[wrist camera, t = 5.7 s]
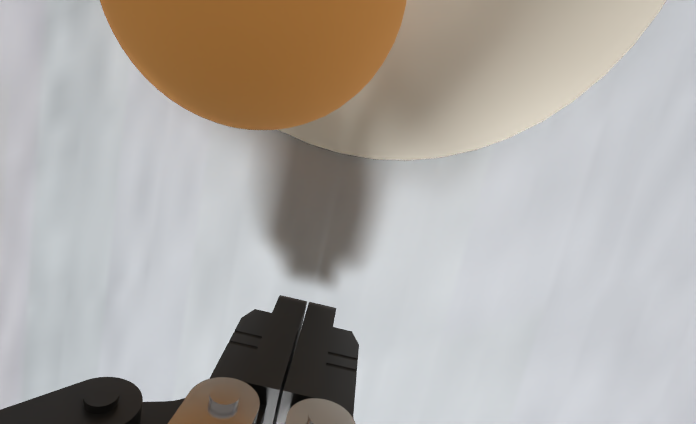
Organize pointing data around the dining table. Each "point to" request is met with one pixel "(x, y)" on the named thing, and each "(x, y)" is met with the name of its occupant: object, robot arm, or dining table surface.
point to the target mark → (479, 74)
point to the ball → (257, 54)
